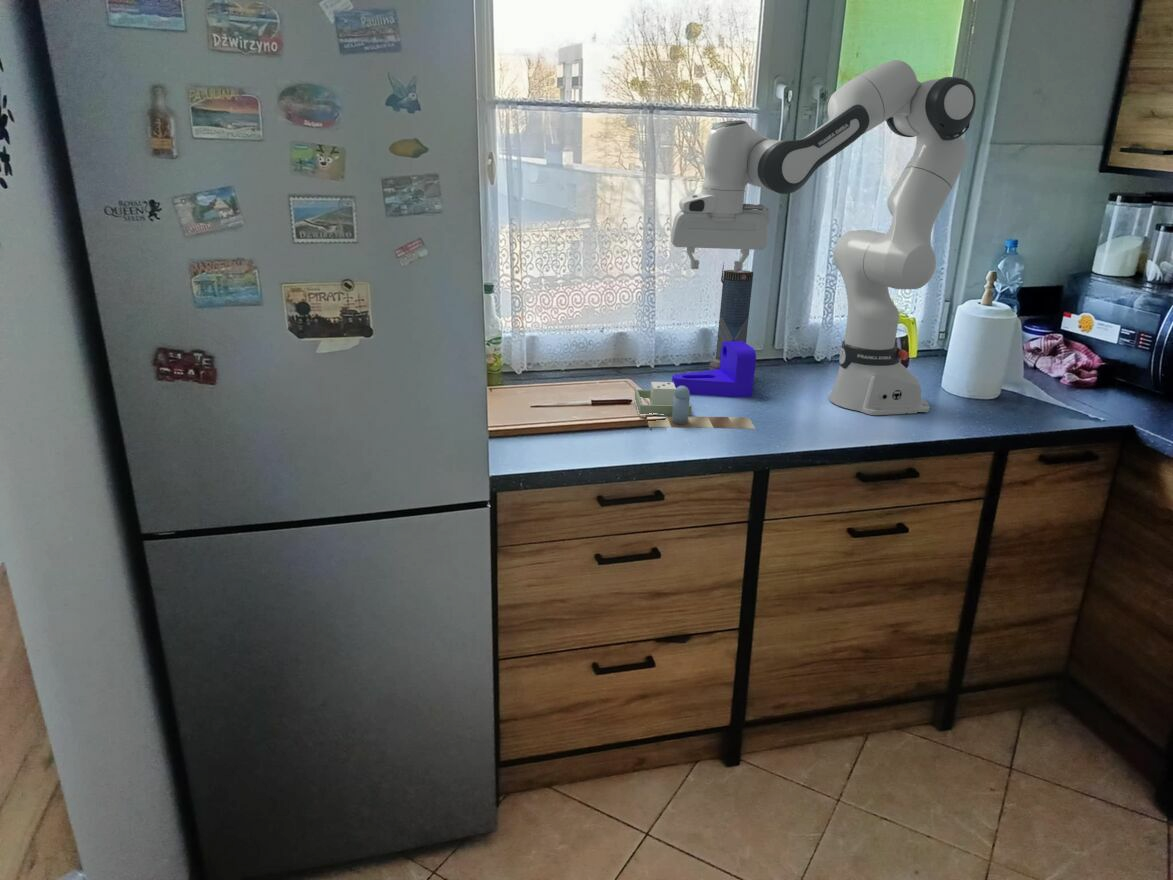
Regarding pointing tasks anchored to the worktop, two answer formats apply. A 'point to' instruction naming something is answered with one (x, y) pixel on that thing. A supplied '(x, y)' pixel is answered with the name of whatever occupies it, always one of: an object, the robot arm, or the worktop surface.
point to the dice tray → (653, 408)
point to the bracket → (724, 373)
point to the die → (662, 393)
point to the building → (733, 309)
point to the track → (706, 422)
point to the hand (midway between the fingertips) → (716, 269)
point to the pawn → (680, 405)
